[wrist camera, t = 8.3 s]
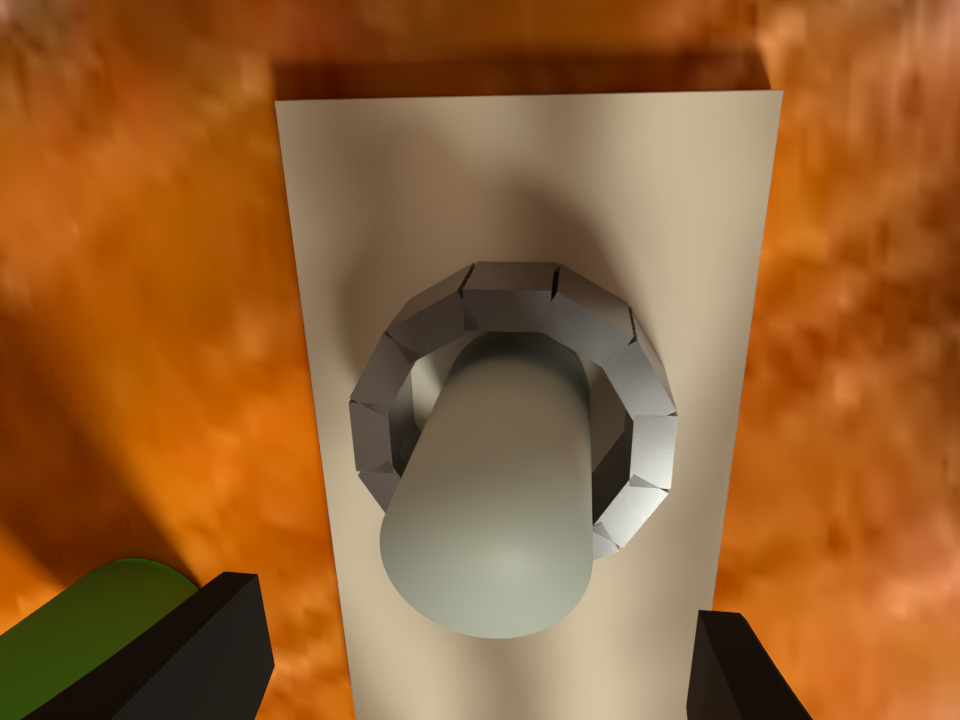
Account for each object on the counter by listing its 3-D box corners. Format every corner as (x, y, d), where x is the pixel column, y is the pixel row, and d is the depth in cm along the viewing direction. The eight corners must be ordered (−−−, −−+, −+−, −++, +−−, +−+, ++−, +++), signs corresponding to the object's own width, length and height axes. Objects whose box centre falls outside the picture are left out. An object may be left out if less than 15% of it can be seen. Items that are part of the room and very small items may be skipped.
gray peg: (597, 333, 18) (604, 476, 12) (582, 463, 20) (581, 651, 13) (448, 320, 18) (377, 451, 12) (446, 448, 20) (381, 623, 14)
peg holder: (772, 89, 16) (818, 93, 13) (685, 743, 25) (700, 843, 21) (290, 99, 18) (226, 105, 15) (365, 708, 26) (334, 797, 23)
